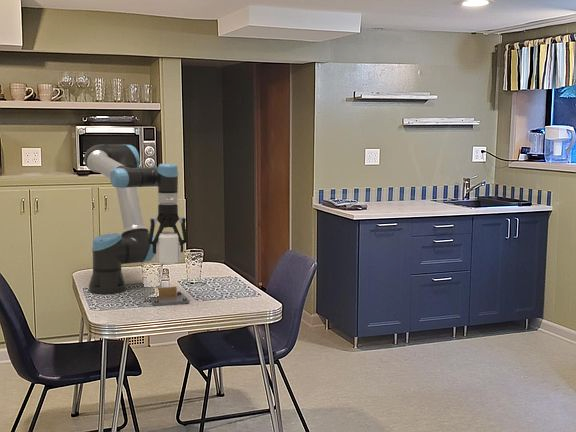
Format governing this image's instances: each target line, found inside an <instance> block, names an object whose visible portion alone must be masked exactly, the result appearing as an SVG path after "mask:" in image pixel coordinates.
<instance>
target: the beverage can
mask: <svg viewBox="0 0 576 432" xmlns="http://www.w3.org/2000/svg"><path fill="white" fill-rule="evenodd" d="M179 244H180V243H179V239H178V235H177V233H175V232H174V231H162V233H161V234H160V236H159V240H158V242H157V245H158V262H157V263H158V264H160V265H176V264H177V263H179V261H178V252H179Z"/></svg>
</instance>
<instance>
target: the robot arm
mask: <svg viewBox="0 0 576 432" xmlns="http://www.w3.org/2000/svg"><path fill="white" fill-rule="evenodd" d="M83 161H84V162H83V163H84V165H85V167H86V168H87V169H89V170H90V171H92V172H94V173H100V174H101V175H103V176H104V177H106V178H108V179H109V180H110V184H111V186H112V187H113V188H115V189H116V194H117V199H118V204H119V209H120V216H121V221H122V226H123V231H122V232H121V233H116V232H115V233H105V234H100V235H97V236H96V237H94V238H93V240H92V247H91V251H92V275H91V278H90V281H89V283H88V291H89V293H92V294H99V295H101V294H102V295H109V294H110V295H111V294H119V293H123V292H125V291H126V290H127V283H126V281H125V278H124V275H123V271H122V266H123V265H126V264H127V265H129V264H138V263H141V264H143V263H147V262H150V261H152V260H153V259H155V263H159V262H158V240H159V236H160V234H161V233H162V232H164V231H163V230H164V229H165V228H172V230H173V232H175V233H177V235H178V239H179V252H178V262H181V261H182V258H181V257H182V254H181V253H184V245H185V244H188V243H189V240H188V239H189V238H188V233H187V229H186V228H187V227H186V220H187V219H186V218H185V217H183V216H182V217H179V214H178V213H179V211H178V209H179V206H178V204H177V203H179V202H178V201H179V200H178V199H179V197H178V196H179V195H178V192H179V191H178V189H179V186H178V185H179V171H178V169H179V168H178V165H177V164H175V163H160V164H158V166H157V167H156V166H151V167H140V164H141V163H140V161H141V160H140V155H139V151H138V150H137V148H136V147H135V146H133V145H132V144H125V143H121V144H107V143H106V144H103V143H102V144H96V145H92V146H91V147H90V148H88V149H87V150H86V151H85V154H84V156H83ZM148 187H149V188H150V187H151V188H152V187H154V188H155V187H156V188H157V193H158V194H157V195H158V196H157V202H158V203H159V204H158V205H157V212H158V213H157V217H155V218H153V217H152V218H151V217H150V219H149V221H150V226H149V229H148V227H146V226H145V225H144V219H143V215H142V214H143V213H142V209H141V204H140V199H139V193H138V188H148ZM178 221H179V223H180V226H181V232H182V233H180V231H179V229H178V227H177V225H176V224H177V223H178ZM157 222H158V223H159V226H158V229H157V231H156V234H155V235H154V232H155V227H156V224H157ZM181 234H182V236H181ZM182 238H183V239H182ZM154 257H155V258H154Z"/></svg>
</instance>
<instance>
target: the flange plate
mask: <svg viewBox="0 0 576 432" xmlns="http://www.w3.org/2000/svg"><path fill="white" fill-rule="evenodd" d="M157 288H158V290H159V296H157V297H149V298H150V300H149V302H150V301H151V302H150V303H151V304H152V306H153V307H159V306H160V307H161V306H172V305H173V306H175V305H176V306H177V305H188V304H190V300H189V299H188V298H187V296H186V295H185V294H184V293H183V292H182V291H179V290H178V287H177V286H166V287H165V286H162V287H161V286H160V287H157Z"/></svg>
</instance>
